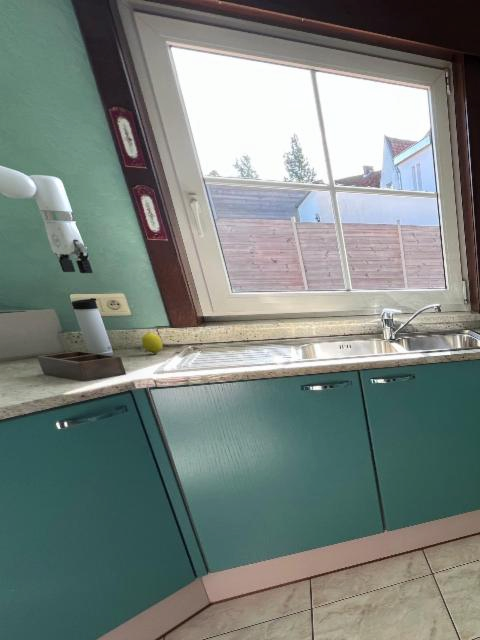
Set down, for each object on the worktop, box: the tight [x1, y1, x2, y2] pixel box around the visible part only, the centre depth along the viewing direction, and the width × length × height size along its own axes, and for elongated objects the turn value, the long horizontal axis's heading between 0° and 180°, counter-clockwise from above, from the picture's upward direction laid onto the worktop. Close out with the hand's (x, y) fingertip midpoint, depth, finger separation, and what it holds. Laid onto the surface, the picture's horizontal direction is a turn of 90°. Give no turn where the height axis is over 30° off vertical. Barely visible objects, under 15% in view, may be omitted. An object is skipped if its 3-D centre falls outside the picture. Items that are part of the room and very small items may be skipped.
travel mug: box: [71, 297, 115, 356], centre depth 176 cm, size 6×7×20 cm
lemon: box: [141, 332, 163, 355], centre depth 183 cm, size 6×6×8 cm
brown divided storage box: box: [36, 350, 127, 382], centre depth 153 cm, size 11×20×6 cm, turn 71°
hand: (78, 272), depth 169 cm, fingers open, 9 cm apart
